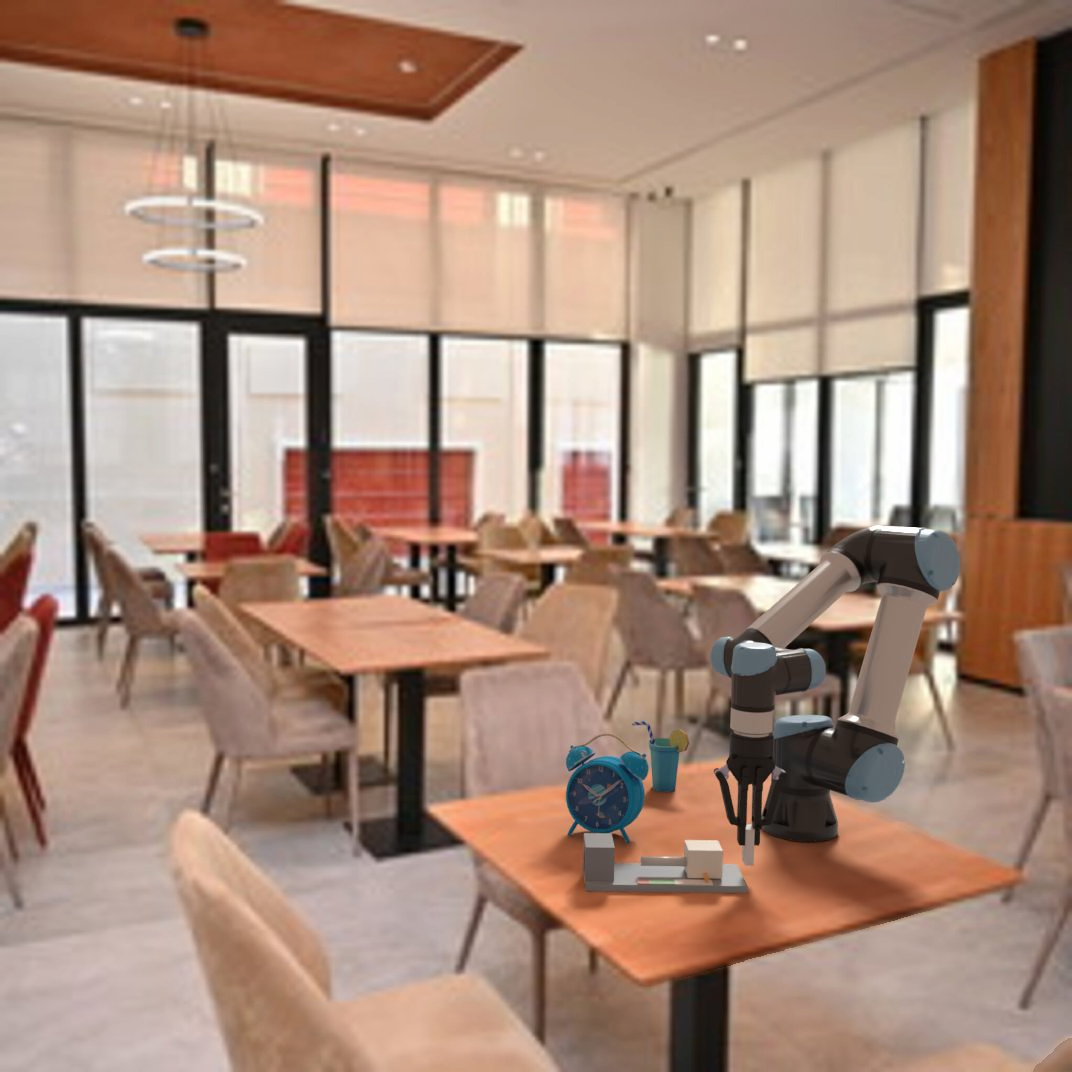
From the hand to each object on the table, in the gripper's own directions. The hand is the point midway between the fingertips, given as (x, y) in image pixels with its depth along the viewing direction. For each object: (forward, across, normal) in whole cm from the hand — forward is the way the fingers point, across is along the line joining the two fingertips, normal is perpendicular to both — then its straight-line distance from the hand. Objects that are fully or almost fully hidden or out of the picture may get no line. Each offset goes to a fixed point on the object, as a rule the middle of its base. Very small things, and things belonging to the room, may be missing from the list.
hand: (747, 862), depth 189 cm
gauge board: (+4, +15, 0) cm, 15 cm away
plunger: (+2, +12, +1) cm, 12 cm away
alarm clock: (+4, +24, -22) cm, 33 cm away
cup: (+4, +9, -53) cm, 54 cm away
